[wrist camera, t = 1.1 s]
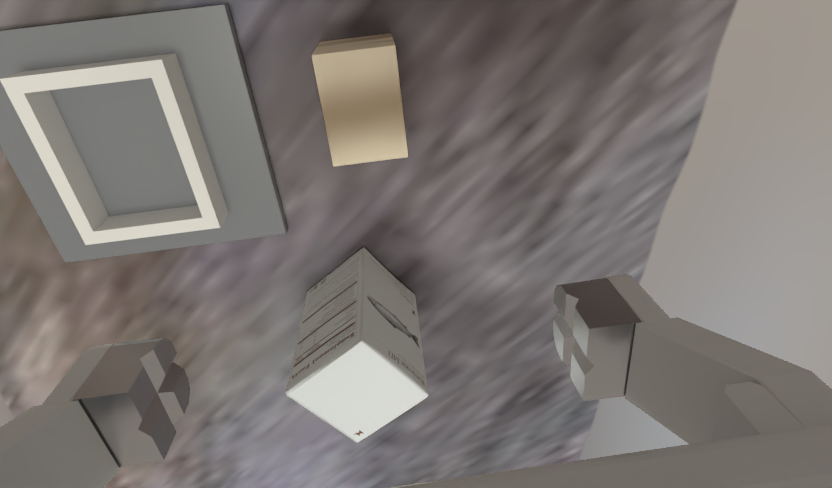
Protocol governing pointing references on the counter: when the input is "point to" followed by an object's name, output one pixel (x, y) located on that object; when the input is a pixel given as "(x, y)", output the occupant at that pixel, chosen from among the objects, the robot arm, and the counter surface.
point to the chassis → (137, 133)
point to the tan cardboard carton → (361, 99)
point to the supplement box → (358, 349)
